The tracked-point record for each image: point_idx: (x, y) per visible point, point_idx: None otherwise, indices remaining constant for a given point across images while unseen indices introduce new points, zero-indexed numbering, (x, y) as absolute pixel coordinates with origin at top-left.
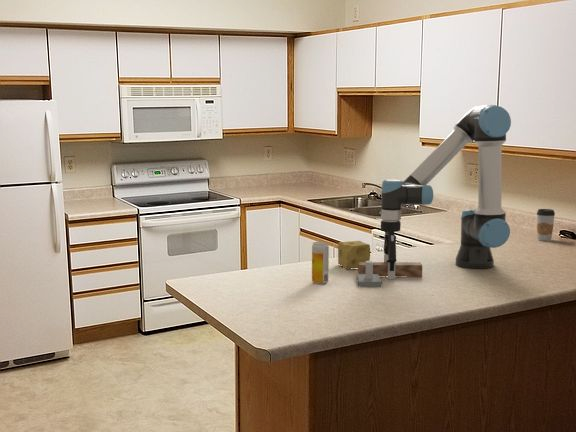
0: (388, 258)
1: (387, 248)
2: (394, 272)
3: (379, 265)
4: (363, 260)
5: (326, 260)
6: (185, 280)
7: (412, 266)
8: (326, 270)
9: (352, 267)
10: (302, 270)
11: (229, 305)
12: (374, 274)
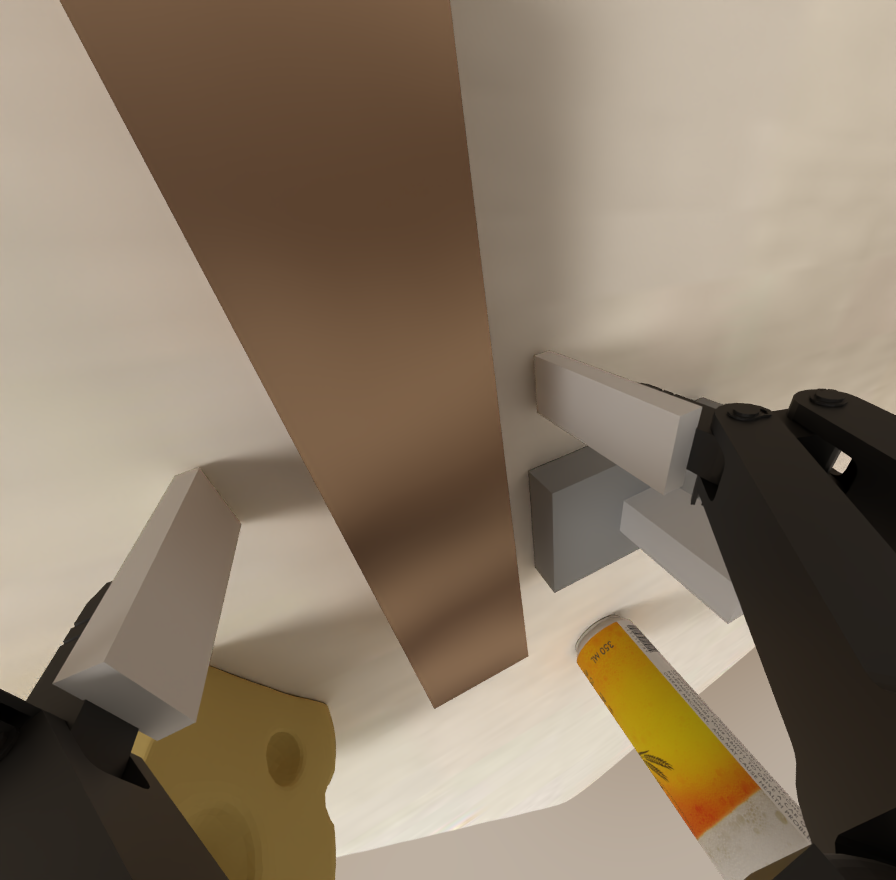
0: (169, 617)
1: (194, 875)
2: (593, 373)
3: (515, 552)
4: (213, 758)
5: (722, 727)
6: (566, 794)
7: (446, 88)
8: (671, 670)
9: (295, 711)
10: (409, 778)
11: (743, 642)
12: (567, 509)
